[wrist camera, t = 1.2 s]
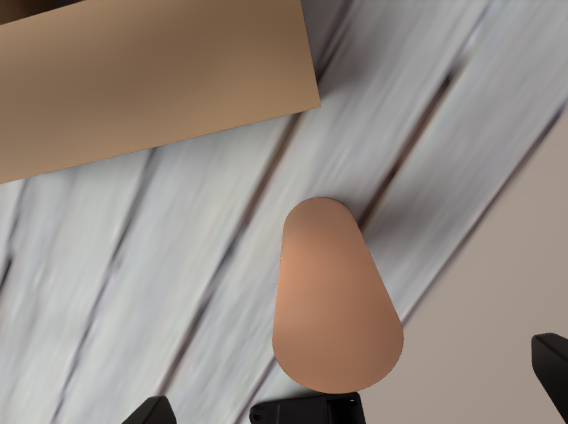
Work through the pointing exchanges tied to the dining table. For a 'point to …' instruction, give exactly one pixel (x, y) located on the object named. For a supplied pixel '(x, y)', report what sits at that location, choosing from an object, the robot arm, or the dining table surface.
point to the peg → (332, 303)
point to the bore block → (142, 75)
